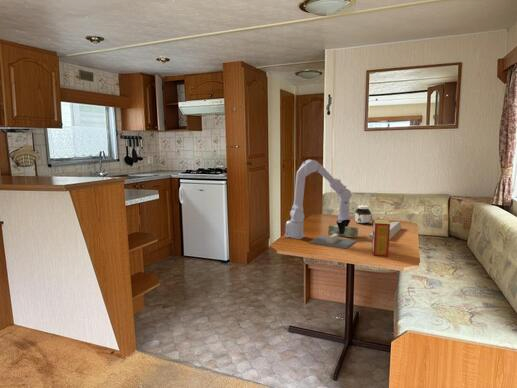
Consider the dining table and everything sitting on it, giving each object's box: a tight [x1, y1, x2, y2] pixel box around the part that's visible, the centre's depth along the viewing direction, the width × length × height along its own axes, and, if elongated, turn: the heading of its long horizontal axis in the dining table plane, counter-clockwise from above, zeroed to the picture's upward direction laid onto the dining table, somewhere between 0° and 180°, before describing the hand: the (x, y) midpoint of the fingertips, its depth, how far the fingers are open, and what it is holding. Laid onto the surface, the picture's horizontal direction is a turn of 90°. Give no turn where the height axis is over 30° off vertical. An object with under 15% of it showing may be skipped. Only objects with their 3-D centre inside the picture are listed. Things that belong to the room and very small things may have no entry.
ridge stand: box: [309, 234, 357, 250], centre depth 195 cm, size 20×16×4 cm
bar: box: [327, 224, 359, 239], centre depth 209 cm, size 16×4×5 cm, turn 62°
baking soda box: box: [371, 218, 391, 257], centre depth 176 cm, size 10×6×16 cm
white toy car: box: [354, 204, 376, 226], centre depth 240 cm, size 12×11×12 cm
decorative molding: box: [368, 221, 402, 241], centre depth 216 cm, size 34×5×10 cm
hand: (342, 232), depth 209 cm, fingers closed on bar, 4 cm apart
